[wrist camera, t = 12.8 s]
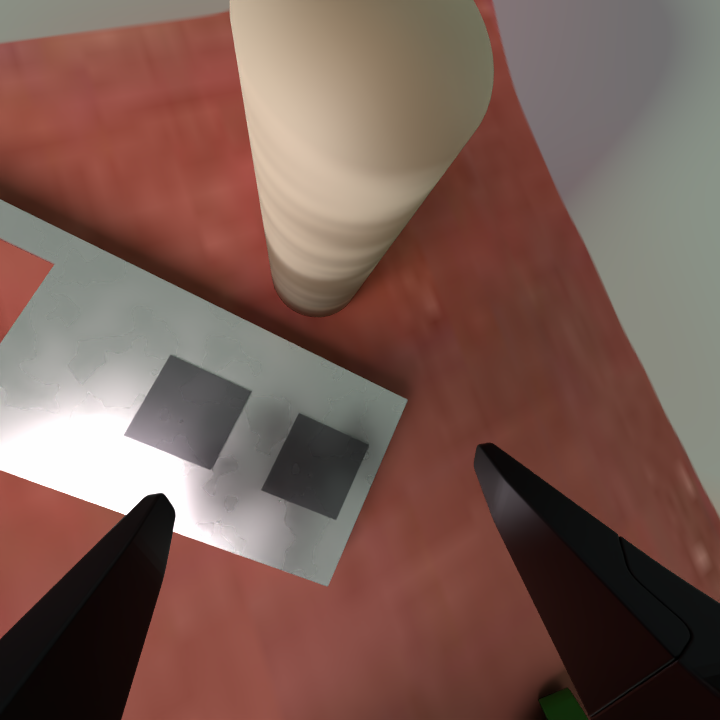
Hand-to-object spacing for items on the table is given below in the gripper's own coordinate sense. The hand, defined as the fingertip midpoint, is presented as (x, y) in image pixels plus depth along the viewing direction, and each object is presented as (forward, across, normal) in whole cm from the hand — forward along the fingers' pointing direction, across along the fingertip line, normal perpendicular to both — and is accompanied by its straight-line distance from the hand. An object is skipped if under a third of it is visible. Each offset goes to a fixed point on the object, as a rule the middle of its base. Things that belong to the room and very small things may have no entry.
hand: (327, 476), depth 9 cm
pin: (+12, 0, -2) cm, 13 cm away
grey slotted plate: (+8, +10, +1) cm, 13 cm away
